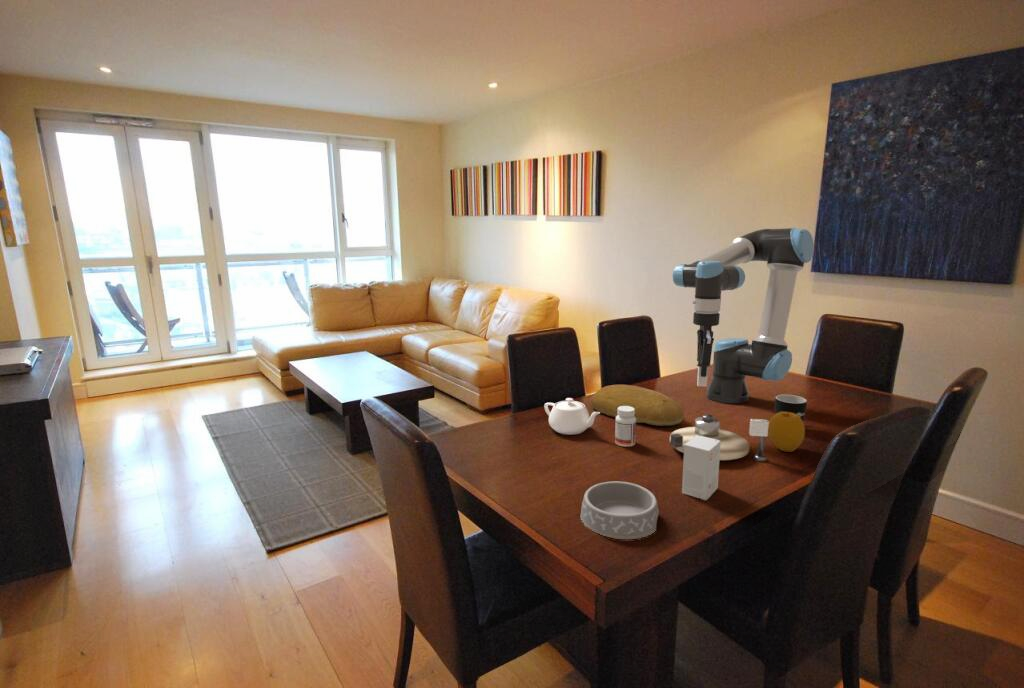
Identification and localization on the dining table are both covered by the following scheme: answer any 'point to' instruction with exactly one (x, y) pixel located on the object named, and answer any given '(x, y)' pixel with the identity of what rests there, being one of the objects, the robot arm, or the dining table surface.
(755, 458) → the silver rod with block
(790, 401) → the mug
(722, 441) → the platter
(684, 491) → the small box
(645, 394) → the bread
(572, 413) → the teapot
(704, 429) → the cover
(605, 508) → the dog bowl
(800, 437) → the apple
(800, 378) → the dining table surface
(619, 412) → the pill bottle
